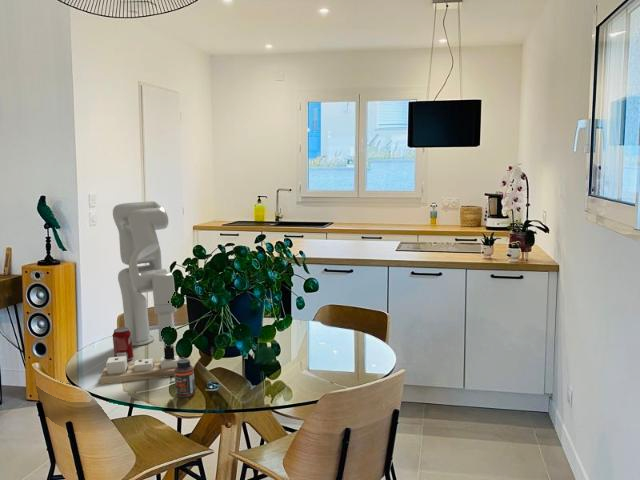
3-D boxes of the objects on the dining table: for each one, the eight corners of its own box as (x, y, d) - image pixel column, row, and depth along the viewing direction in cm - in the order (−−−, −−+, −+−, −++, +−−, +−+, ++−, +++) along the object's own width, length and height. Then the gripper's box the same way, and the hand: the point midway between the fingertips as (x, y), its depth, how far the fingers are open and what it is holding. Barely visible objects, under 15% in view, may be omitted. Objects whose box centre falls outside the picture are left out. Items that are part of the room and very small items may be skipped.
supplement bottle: (173, 398, 192) (170, 363, 191) (180, 391, 198) (178, 357, 196) (191, 398, 191) (188, 363, 189) (198, 391, 197) (195, 357, 195)
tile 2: (136, 370, 219) (135, 359, 219) (153, 368, 220) (152, 357, 220) (134, 376, 214) (133, 364, 213) (152, 374, 215) (151, 362, 214)
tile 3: (162, 367, 221) (161, 356, 220) (179, 365, 222) (178, 354, 222) (161, 373, 215) (160, 361, 215) (178, 371, 216) (177, 359, 216)
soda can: (127, 363, 229) (125, 331, 227) (111, 362, 230) (108, 331, 229) (136, 357, 236) (134, 326, 234) (120, 356, 237) (117, 326, 235)
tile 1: (109, 368, 217) (108, 356, 217) (127, 366, 219) (126, 355, 218) (107, 374, 212) (106, 362, 211) (125, 372, 213) (124, 360, 212)
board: (106, 371, 221) (105, 366, 221) (185, 362, 226) (184, 357, 226) (100, 383, 208) (99, 378, 208) (184, 374, 213) (183, 369, 213)
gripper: (155, 304, 222) (160, 353, 224) (152, 313, 208) (157, 366, 210) (177, 302, 223) (181, 350, 226) (175, 311, 209) (179, 363, 211)
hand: (169, 358), depth 218 cm, fingers closed
